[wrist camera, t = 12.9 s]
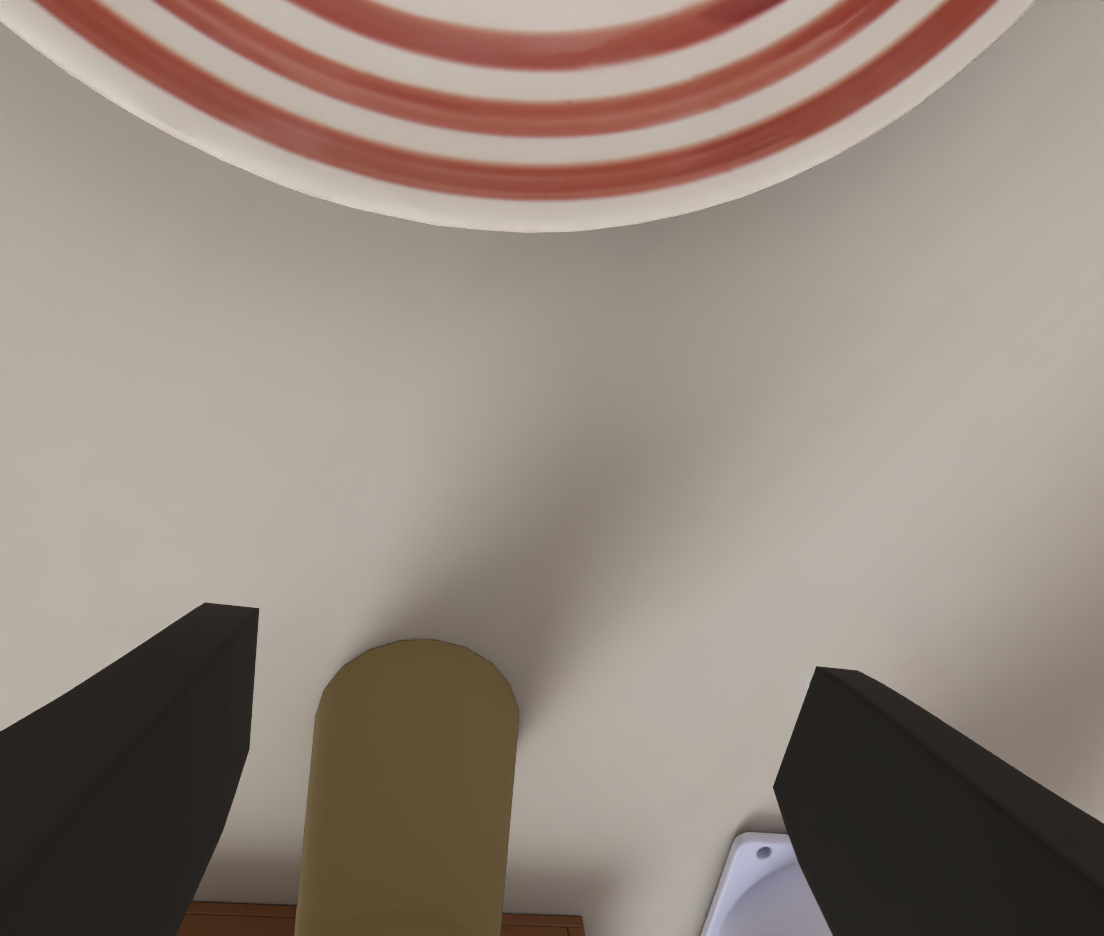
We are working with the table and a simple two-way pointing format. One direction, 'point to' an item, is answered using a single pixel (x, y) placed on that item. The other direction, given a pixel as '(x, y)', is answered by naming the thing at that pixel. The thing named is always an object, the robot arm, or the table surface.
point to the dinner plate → (517, 93)
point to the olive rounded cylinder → (409, 796)
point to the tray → (269, 929)
